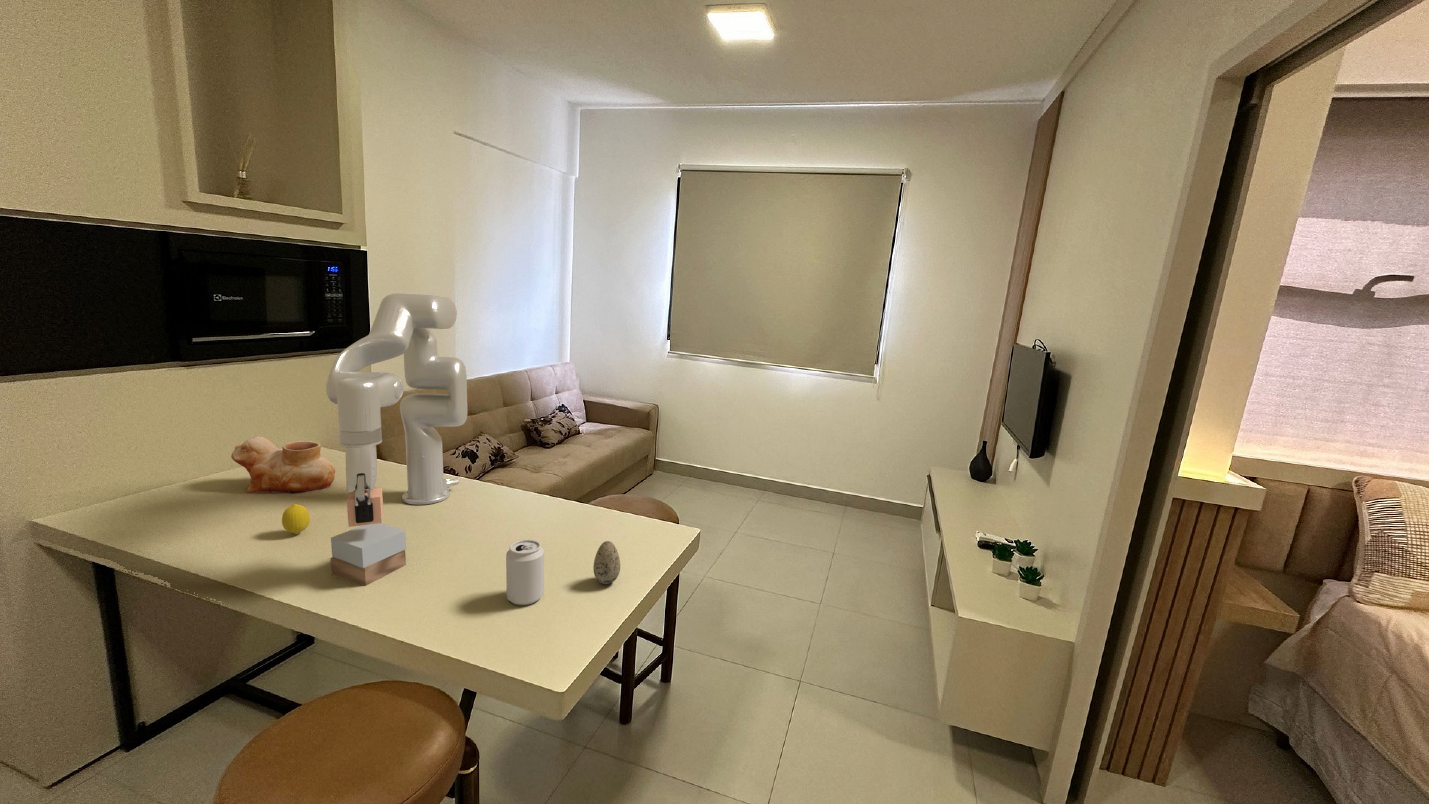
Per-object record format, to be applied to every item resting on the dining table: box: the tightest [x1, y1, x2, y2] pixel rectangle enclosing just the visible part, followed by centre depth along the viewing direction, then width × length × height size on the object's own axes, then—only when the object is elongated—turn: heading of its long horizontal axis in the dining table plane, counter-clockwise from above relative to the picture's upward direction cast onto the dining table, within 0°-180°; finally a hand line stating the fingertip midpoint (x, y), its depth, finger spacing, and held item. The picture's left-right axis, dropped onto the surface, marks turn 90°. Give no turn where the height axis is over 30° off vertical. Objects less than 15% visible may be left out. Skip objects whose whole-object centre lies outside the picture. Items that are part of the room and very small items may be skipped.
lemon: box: [281, 503, 311, 536], centre depth 136 cm, size 6×6×8 cm
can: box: [505, 538, 545, 606], centre depth 114 cm, size 8×8×12 cm
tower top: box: [330, 522, 407, 568], centre depth 121 cm, size 10×10×4 cm
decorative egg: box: [592, 540, 621, 585], centre depth 123 cm, size 6×6×10 cm
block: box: [346, 487, 384, 528], centre depth 119 cm, size 6×6×6 cm
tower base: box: [329, 549, 407, 586], centre depth 122 cm, size 10×10×4 cm
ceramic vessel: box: [230, 435, 336, 494], centre depth 164 cm, size 14×26×15 cm, turn 97°
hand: (366, 515), depth 119 cm, fingers closed on block, 6 cm apart
